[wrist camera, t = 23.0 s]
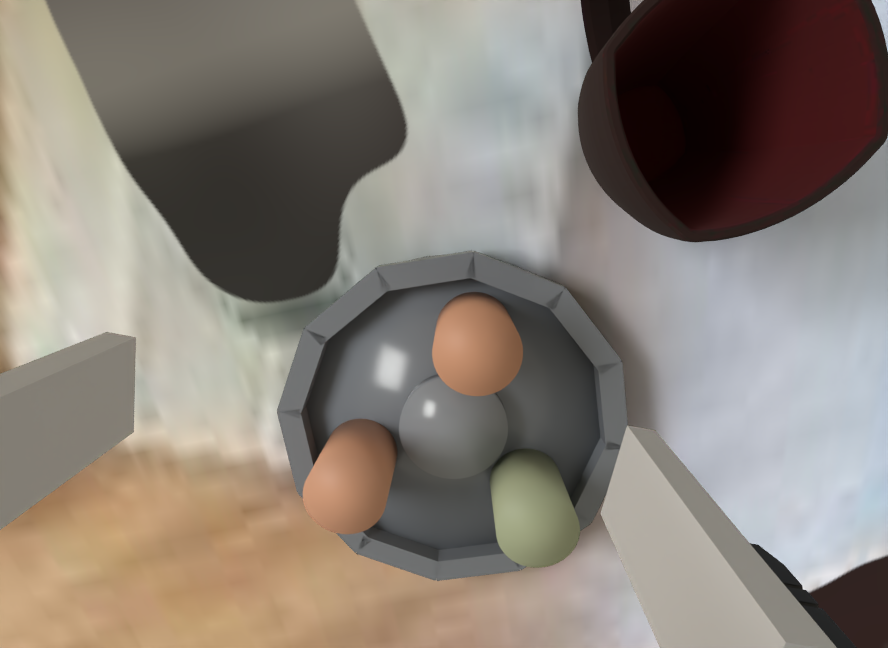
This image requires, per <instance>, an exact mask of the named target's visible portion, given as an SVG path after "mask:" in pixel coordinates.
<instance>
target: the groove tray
mask: <svg viewBox="0 0 888 648" xmlns="http://www.w3.org/2000/svg"><path fill="white" fill-rule="evenodd" d="M467 292H481V293H485V294H488V295H491V296H493V297H494V298H496V299H497V300H498V301H500V302H501V303H502V304H503V305H504V307H505V308H506V310H507V312H508V313H509V315H510V317H511V319H512V321H513V323H514V325H515V327H516V329H517V331H518V333H519V335H520V338H521V341H522V346H523V359H522V364H521V367H520V369H519V371H518V373H517V375H516V376H515V378H514V379H513V380H512V381H511V382H510V383H509V384H508V385H507V386H506V387H505V388H503V389H502V390H500V391H498V392H496V393H493V394H490V395H485V396H469V395H465V394H461V393H459V392H457V391H455V390H453V389H451V388H450V387H449V386H447V385H446V384H445V383H444V382H443V381H442V379H441V378H440V377H439V375H438V373H437V372H436V369H435V367H434V363H433V358H432V348H433V342H434V336H435V330H436V324H437V319H438V316H439V314H440V312H441V310H442V309H443V307H444V306H445V305H446V304H447V303H448V302H449V301H450V300H451V299H453V298H454V297H456V296H458V295H460V294H463V293H467ZM277 414H278V418H279V422H280V426H281V430H282V434H283V438H284V442H285V446H286V450H287V454H288V458H289V462H290V466H291V470H292V474H293V478H294V482H295V486H296V490H297V492H298V494H299V495H300V496H301V497H302V498H303V487H304V483H305V481H306V479H307V477H308V475H309V473H310V472H311V470H312V468H313V466H314V464H315V462H316V461H317V459H318V457H319V455H320V453H321V452H322V450H323V448H324V446H325V444H326V443H327V441H328V439H329V437H330V435H331V434H332V432H333V431H334V430H335V429H336V428H337V427H338V426H339V425H341V424H342V423H344V422H346V421H349V420H353V419H368V420H372V421H375V422H377V423H379V424H381V425H382V426H384V427H385V428H386V429H387V430H388V431H389V432H390V433H391V434H392V436H393V438H394V440H395V442H396V446H397V460H396V464H395V469H394V473H393V477H392V481H391V486H390V490H389V494H388V498H387V503H386V507H385V510H384V512H383V514H382V516H381V518H380V519H379V520H378V522H377V523H376V524H374V525H373V526H372V527H370V528H369V529H367V530H365V531H363V532H359V533H355V534H339V533H336V534H337V535H338V536H339V537H340V538H341V539H342V540H343V541H344V542H345V543H346V544H347V545H348V546H349V547H350V548H351V549H352V550H353V551H354V552H355V553H356V552H357V553H356V554H359V555H362V556H365V557H368V558H370V559H373V560H376V561H379V562H382V563H385V564H388V565H391V566H394V567H397V568H400V569H403V570H406V571H408V572H411V573H414V574H417V575H420V576H423V577H426V578H429V579H432V580H437V581H440V580H448V579H456V578H464V577H472V576H481V575H489V574H497V573H505V572H513V571H520V569H521V570H522V569H524V568H525V567H527V566H523V565H520V564H518V563H516V562H514V561H512V560H511V559H510V558H508V557H507V556H506V555H505V554H504V552H503V551H502V550H501V548H500V546H499V544H498V541H497V537H496V529H495V521H494V513H493V505H492V497H491V489H490V475H491V471H492V469H493V467H494V465H495V464H496V462H497V461H498V460H499V459H500V458H501V457H502V456H503V455H505V454H507V453H509V452H511V451H513V450H517V449H524V448H527V449H535V450H538V451H541V452H543V453H545V454H546V455H548V456H549V457H550V458H551V459H552V460H553V461H554V462H555V464H556V465H557V467H558V469H559V472H560V474H561V477H562V480H563V482H564V485H565V487H566V490H567V492H568V495H569V497H570V500H571V502H572V505H573V507H574V510H575V512H576V515H577V517H578V520H579V525H580V531H581V530H582V529H584V528H585V527H587V526H588V525H590V524H591V523H592V521H593V519H594V517H595V515H596V513H597V511H598V509H599V507H600V505H601V504H602V502H603V500H604V498H605V496H606V494H607V490H608V487H609V484H610V480H611V477H612V474H613V470H614V467H615V464H616V460H617V457H618V454H619V450H620V447H621V444H622V440H623V437H624V434H625V430H626V427H627V425H628V421H627V409H626V398H625V386H624V374H623V363H622V360H621V359H620V357H619V356H618V355H617V354H616V352H615V351H614V350H613V348H612V347H611V346H610V344H609V343H608V342H607V341H606V339H605V338H604V337H603V335H602V334H601V333H600V331H599V330H598V329H597V328H596V326H595V325H594V324H593V322H592V321H591V320H590V318H589V317H588V316H587V315H586V313H585V312H584V311H583V309H582V308H581V307H580V305H579V304H578V303H577V302H576V300H575V299H574V298H573V296H572V295H571V294H570V292H569V291H568V290H567V289H566V288H565V287H564V286H563V285H561V284H559V283H556V282H554V281H551V280H549V279H546V278H543V277H541V276H538V275H536V274H533V273H531V272H528V271H526V270H524V269H522V268H520V267H517V266H515V265H512V264H509V263H505V262H502V261H499V260H497V259H494V258H492V257H489V256H487V255H484V254H481V253H479V252H476V251H465V252H459V253H453V254H447V255H436V256H426V257H422V258H417V259H413V260H409V261H403V262H397V263H391V264H385V265H379V266H378V267H376V268H375V269H374V270H372V271H371V272H370V273H369V274H368V275H366V276H365V277H364V278H363V279H362V280H361V281H359V282H358V283H357V284H356V285H355V286H353V287H352V288H351V289H350V290H349V291H347V292H346V293H345V294H344V295H343V296H341V297H340V298H339V299H338V300H337V301H335V302H334V303H333V304H332V305H331V306H329V307H328V308H327V309H326V310H325V311H323V312H322V313H321V314H320V315H319V316H317V317H316V318H315V319H314V320H313V321H311V322H310V323H309V324H308V325H307V326H305V327H304V329H303V332H302V335H301V338H300V341H299V344H298V347H297V350H296V354H295V357H294V360H293V363H292V366H291V369H290V372H289V375H288V378H287V381H286V384H285V387H284V391H283V394H282V397H281V400H280V403H279V406H278V409H277Z"/></svg>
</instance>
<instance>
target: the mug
mask: <svg viewBox="0 0 888 648" xmlns="http://www.w3.org/2000/svg"><path fill="white" fill-rule="evenodd" d="M581 7H582V14H583V21H584V27H585V32H586V38H587V43H588V47H589V52H590V56H591V60H592V64H591V66H590V68H589V69H588V71H587V73H586V76H585V79H584V81H583V84H582V88H581V93H580V97H579V103H578V126H579V135H580V141H581V145H582V149H583V153H584V156H585V158H586V161H587V163H588V166H589V168H590V170H591V172H592V174H593V175H594V177H595V179H596V180H597V182H598V183H599V185H600V186H601V187H602V189H603V190H604V191H605V192H606V194H607V195H608V196H609V197H610V198H611V199H612V200H613V201H614V202H615V203H616V204H617V205H618V206H619V207H621V208H622V209H623V210H624V211H625V212H627V213H628V214H629V215H630V216H632V217H633V218H634V219H636V220H637V221H638V222H640V223H641V224H643V225H644V226H646V227H647V228H649V229H651V230H652V231H654V232H657V233H659V234H661V235H664V236H667V237H670V238H674V239H678V240H682V241H688V242H704V241H716V240H723V239H729V238H734V237H739V236H742V235H746V234H749V233H753V232H756V231H759V230H762V229H765V228H767V227H770V226H772V225H775V224H777V223H780V222H782V221H784V220H786V219H788V218H791V217H793V216H795V215H796V214H798V213H800V212H802V211H804V210H806V209H807V208H809V207H811V206H812V205H814V204H815V203H817V202H818V201H820V200H822V199H823V198H824V197H826V196H827V195H829V194H830V193H831V192H833V191H834V190H836V189H837V188H838V187H839V186H841V185H842V184H843V183H844V182H846V181H847V180H848V179H849V178H850V177H851V176H852V175H854V174H855V173H856V172H857V171H858V170H859V169H860V168H861V167H862V166H863V165H864V164H865V163H866V162H867V161H868V160H869V159H870V158H871V157H872V156H873V155H874V153H875V152H876V151H877V150H878V149H879V148H880V147H881V146H882V145H883V144H884V142H885V141H886V139H887V136H888V52H887V47H886V43H885V38H884V34H883V31H882V27H881V24H880V21H879V18H878V15H877V13H876V10H875V7H874V5H873V3H872V1H871V0H644V1H642V2H641V3H640V4H639V5H638V7H637V8H636V9H635V10H634V11H633V12H632V13H631V11H630V2H629V0H581Z"/></svg>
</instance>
